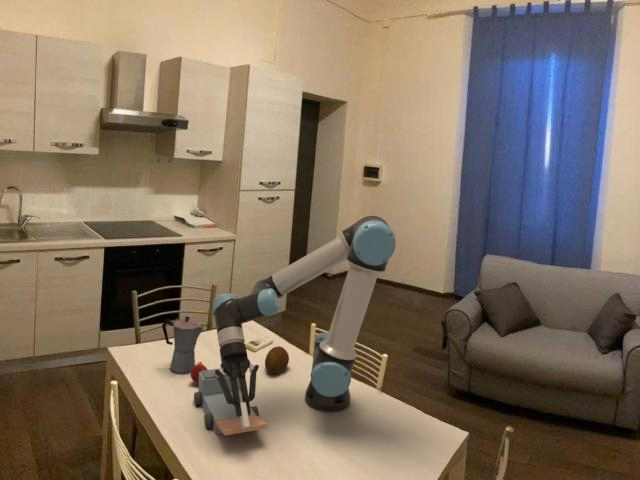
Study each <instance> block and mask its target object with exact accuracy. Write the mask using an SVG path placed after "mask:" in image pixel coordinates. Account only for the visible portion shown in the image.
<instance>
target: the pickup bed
mask: <svg viewBox="0 0 640 480" xmlns="http://www.w3.org/2000/svg"><path fill="white" fill-rule="evenodd" d="M216 369H217V368H213V369H207V370H204V371H201V372H199V384H198V386H197V387H198V389H197V390H198V391H196V392H194V394H193V401H194V405H195V406H201V407H202V410H203V411H204V416H203V419H204V420H203V421H204V427H205V429H210V428H211V429H212V430H213V433H214V434H219V433H222V431H221V430H220V429H219V428H218V427H217V426H216V421H220V420H226V419H232V418H239V417H237V416H236V411H235V406H234V405H233V404H228V403H227V401H226V399H225V396H224V394H223V391H222V389H221V386H220V384H219V381H218V379H217V378H216V377H215V376H214V372H215V370H216ZM223 375H224V377H225V380H226V382H227V385H228V387H229V390H230V392H231V394H232V389H231V382H230V379H229V376H228V375H227V374H226V373H225V372H224V371H223ZM237 384H238V391H239V397H240V403H243V400H242V394H241V388H240V382H239V379H238V377H237ZM232 397H233V395H232ZM250 410H251V413H250V415H248V416H251V415H257V416H258V417H259V416H260V412H259V408H258V406H257V405H255V406H252V405H250ZM259 418H260V417H259Z"/></svg>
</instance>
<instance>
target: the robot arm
mask: <svg viewBox="0 0 640 480" xmlns="http://www.w3.org/2000/svg"><path fill="white" fill-rule="evenodd" d="M396 241H397V240H396V236H395V233H394V231H393V229H392V228H391V226H390V225H389V224H388V223H387V221H386V220H385V219H383V218H382V217H380V216H375V215H369V216H368V215H367V216H365V217H362V218H360V219H358V220H357V221H356V222H354V223H353V224H351V225H350V226H348V227H346V228H345V229H343V230H342V231H341V232H340V235H339V236H338V237H336V238H334V239H333V240H331V241H329V242H327V243H326V244H324V245H322V246H320V247H318V248H317V249H315V250H314V251H312V252H310V253H308V254H307V255H305V256H303V257H300V258H299V259H297V260H296V261H295V262H292V263H291V264H289V265H287V266H285V267H284V268H282V269H281V270H279V271H277V272H275V273H274V274H272V275H270V276H268V277H264V278H261V279H260V280H258V281H257V282H256V283H255V284H254V286H253V288H252V290H251V292H250V294H247V295H245V296H242V297H238V296H237V295H236V294H234V293H223V294H219V295H218V296H217V297H215V298H214V299H213V302H212V305H213V307H212V308H213V316H214V317H213V318H214V322H215V328H216V335H217V341H218V347H219V356H220V361H221V362H220V367H219V368H215V369H216V370H215V372H214V376H215V377H216V378H217V379H218V381H219V384H220V386H221V389H222V391H223V394H224V396H225V399H226V401H227V403H228V404H233V405H234V406H235V411H236V416H237V417H240V420H241V427H242V430H243V429H248V428H249V426H250V425H249V419H248V415H250V413H251V410H250V406H251V405H250V402H252V401H253V400H254V399H255V398H256V386H257V372H258V370H259V366H260V365H258V364H252V362H251V360H250V359H249V357H248V351H247V346H246V343H245V342H246V341H245V340H246V339H245V335H244V330H243V324H245V323H249V322H251V321H254V320H259V319H262V318H264V317H269V316H271V315H273V314H276V313H278V312H279V310H280V307H281V306H280V301H279V299H280V298H282V297H284V296H285V295H287V294H289V293H291V292H292V291H294V290H296V289H298V288H299V287H301V286H302V285H305V284H306V283H308V282H310V281H312V280H314V279H315V278H317V277H319V276H321V275H322V274H325V273H326V272H327V271H330V270H331V269H333V268H335V267H336V266H338V265H340V264H342V263H345V262H346V261H347V264H348V265H349V267H348V270H347V274H346V277H345V280H344V283H343V286H342V290H341V293H340V296H339V298H338V301H337V302H338V303H337V305H336V308H335V312H334V315H333V318H332V321H331V324H330V327H329V331H328V332H326V331H325V332H320V333H317V334H316V335H315V337H314V341H313V343H314V344H313V357H312V364H311V373H310V381H309V382H308V385H307V388H306V390H305V394H304V401H305V403H306V404H307V405H308V406H309V407H311V408H312V409H315V410H318V411H323V412H329V413H330V412H339V411H343V410H346V409H348V408H349V406H350V404H351V399H352V398H351V392H350V385H351V382H352V376H351V375H352V371H353V367H354V366H355V362H356V360H357V356H358V355H357V352H356V350H355V349H354V348H355V346H356V343H357V340H358V338H359V337H358V336H359V333H360V331H361V327H362V326H363V321H364V319H365V315H366V312H367V309H368V306H369V303H370V300H371V297H372V295H373V292H374V289H375V285H376V282H377V279H378V277H379V275H381V274H383V273H385V272H386V268H387V266H388V262H389V260H390V259H391V258H392V257H393V254H394V253H395V249H396V245H397V244H396ZM248 370H249V374H250V376H249V390H248V384H247V378H246V377H247V376H246V373H247V372H248ZM223 371H224V372H225V373H226V374H227V375H228V376H229V379H230V382H231V389H232V394H231V392H230V390H229V387H228V385H227V382H226V380H225V377H224V375H223ZM237 377H238V379H239V382H240V388H241V394H242V400H243V403H240V397H239V391H238V384H237ZM232 395H233V397H232Z"/></svg>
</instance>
